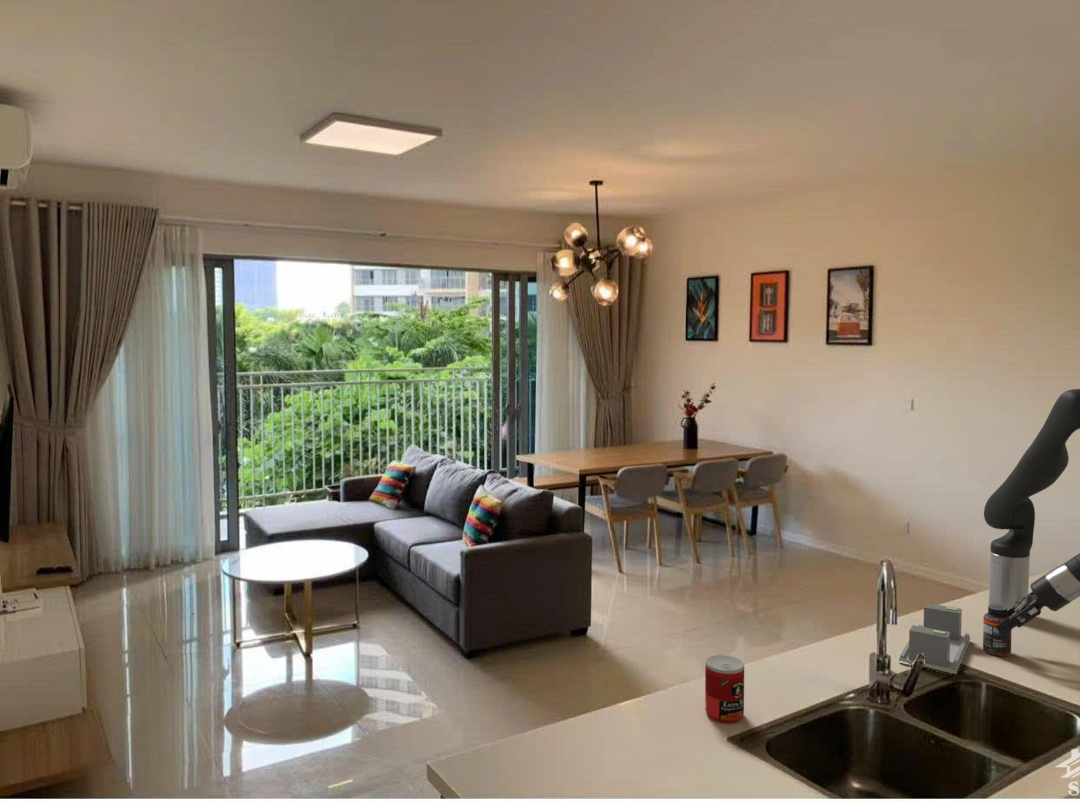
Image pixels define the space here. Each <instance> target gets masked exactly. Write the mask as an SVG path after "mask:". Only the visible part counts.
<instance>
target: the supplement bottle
mask: <svg viewBox="0 0 1080 803" xmlns="http://www.w3.org/2000/svg"><path fill="white" fill-rule="evenodd" d="M982 618H983V622H982V625H983V627H982V630H983V631H982V633H983V634H982V649H983V652H985V653H987V654H989V655H991V656H996V657H1007V656H1008V657H1009V655H1011V654H1012V630H1013V629H1011V630H1010V631H1008V632H1007V633H1005V634H1001V633H1000V632H999V631H998V629H997V628H996V627H997V625H999V624H1000V623H1002V622H1003V621H1005V620H1006V619H1008V618H1009V616H1008V615H1007V608H1006V607H1005V606H1002V605H996V604H993V605H989V604H988V606H987V612H986V613H985V614H984V615H983V617H982Z"/></svg>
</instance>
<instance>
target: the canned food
mask: <svg viewBox="0 0 1080 803" xmlns="http://www.w3.org/2000/svg"><path fill="white" fill-rule="evenodd" d="M704 672H705V674H704V675H705V677H704V678H705V679H704V681H705V682H704V684H705V687H704V689H705V691H704V692H705V694H704V695H705V697H704V698H705V703H704V705H705V706H704V707H705V713H706V715H707V717H708V718H709V719H711V720H712V721H715V722H718V723H720V724H721V723H722V724H735V723H739V722H740V721H742V719H743V717H744V714H745V663H744V662H743V660H741V659H740V658H737V657H735V656H730V655H724V654H721V655H720V654H717V655H712V656H710V657H709V656H708V657H707V658H706V659H705V670H704Z"/></svg>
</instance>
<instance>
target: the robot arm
mask: <svg viewBox="0 0 1080 803" xmlns="http://www.w3.org/2000/svg"><path fill="white" fill-rule="evenodd" d="M1079 429H1080V388H1074V389H1068V390H1066V391H1064V392H1063V393H1061V394H1060V395H1059V396H1058V397H1057V399H1056V401H1055V402H1054V404H1053V406H1052V408H1051V410H1050V412H1049V414H1048V416H1047V418H1046V420H1045V422H1044V424H1043V426H1042V427H1041V429H1040V430H1039V432H1038V434H1037V435H1036V437H1035V438H1034V440H1033V442H1031V444H1030V446H1029V447H1027V450H1026V451H1025V452H1024V453H1023V455H1022V456H1021V458H1020V459H1019V460H1018V463H1017V464H1016V466H1015V467H1014V468H1013V469H1012V471H1011V472H1010V474H1009V475H1008V476H1007V478H1006V479H1005V480H1004V482H1002V484H1001V485H1000V486H999V487H998V488H997V489H996V490H995V491H994V492H993V493H992V494H991V495H990V497H989V498H988V499H987V501H986V502H985V506H984V508H983V518H984V521H985V523H986V524H987V525H988V526H989V527H991V528H993V529H995V530H1008V532H1006V533H1005V534H1004V535H1002V536H1000V537H998V538H996V539H993V540H992V541H991V543H990V558H989V560H990V561H989V562H990V563H989V583H988V585H989V588H988V606H989V605H993V604H996V605H1002V606H1005V607H1006V608H1007V615H1008V616H1009V618H1008V619H1006V620H1005V621H1003V622H1002V623H1000V624H999V625H997V627H996V628H997V629H998V631H999V632H1000V633H1001V634H1005V633H1007V632H1008V631H1010V630H1011V629H1012V630H1013V629H1014V628H1018V629H1019V628H1022V627H1023V626H1024V625H1025V624H1027V623H1028V622H1030V621H1032V620H1034V618H1036V617H1037V616H1038V617H1039V616H1040V614H1041V613H1042V610H1043V608H1044V607H1046V608H1048V609H1049V610H1050V611H1052V612H1057V611H1060V610H1061V609H1062V608H1064V607H1065V606H1067V605H1069V604H1070V603H1072V602H1073V601H1075V600H1077V599H1078V598H1080V552H1079V553H1077V554H1076V555H1075V556H1072V558H1069V559H1068V560H1067V561H1066V562H1064V563H1062V564H1060V565H1058V566H1056V567H1054V568H1053V569H1051V570H1050V571H1048V572H1046V573H1045V574H1044V575H1042V576H1041V577H1039V578H1038V579H1036V580H1034V582H1031V584H1030V582H1029V581H1030V562H1031V561H1030V558H1031V557H1030V556H1031V549H1032V547H1033V543H1034V532H1035V523H1036V522H1035V521H1036V511H1035V505H1034V503H1033V502H1032V501H1033V500H1032V499H1031V498H1030V497H1032V496H1034V495H1036V494H1038V493H1040V492H1042V491H1045V490H1046V489H1048V488H1049V487H1051V486H1052V485H1053V484H1055V482H1056V481H1058V479H1059V478H1060V476H1061V475H1062V474H1063V472H1065V470H1066V468H1067V467H1068V464H1069V452H1068V449H1067V448H1068V447H1067V444H1066V443H1067V441H1068V440H1069V438H1070V437H1071V436H1072V435H1073V434H1074V433H1075V432H1076V431H1078V430H1079ZM1029 584H1030V585H1029ZM1029 586H1030V590H1031V592H1029Z"/></svg>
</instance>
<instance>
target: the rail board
mask: <svg viewBox="0 0 1080 803" xmlns="http://www.w3.org/2000/svg"><path fill="white" fill-rule="evenodd" d="M962 609H963V608H959V607H954V606H953V607H952V606H947V605H941V604H936V603H935V604H934V603H928V602H926V603H925V605H924V607H923V624H918V625H914V624H913V625H911V627H910V628H909V634H908V635H909V636H908V639H909V640H908V642H907V643H906V645H905V646H904V648H903V649H902V651H901V653H900V654H899V657H898V662H899V661H903V662H907V663H909V664H911V665H912V663H913V662H914V660H915V659H916V657H917V655H918V654H919V653H923V654H924V656H925V666H926V667H929V668H933V669H938V670H942V671H945V672H949V673H954V674H958V672H959V670H958V668H959V669H960V667H961V665H962V663H963V659H964V658H965V655H966V653H967V650H968V649H969V646H970V643H971V637H970V633H968V632H966V633H965V634H964V635H962V618H963V616H962V615H963V614H962V613H963V612H962V611H963V610H962ZM963 657H964V658H963ZM961 662H962V663H961ZM960 664H961V665H960ZM959 666H960V667H959ZM957 671H958V672H957Z"/></svg>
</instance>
